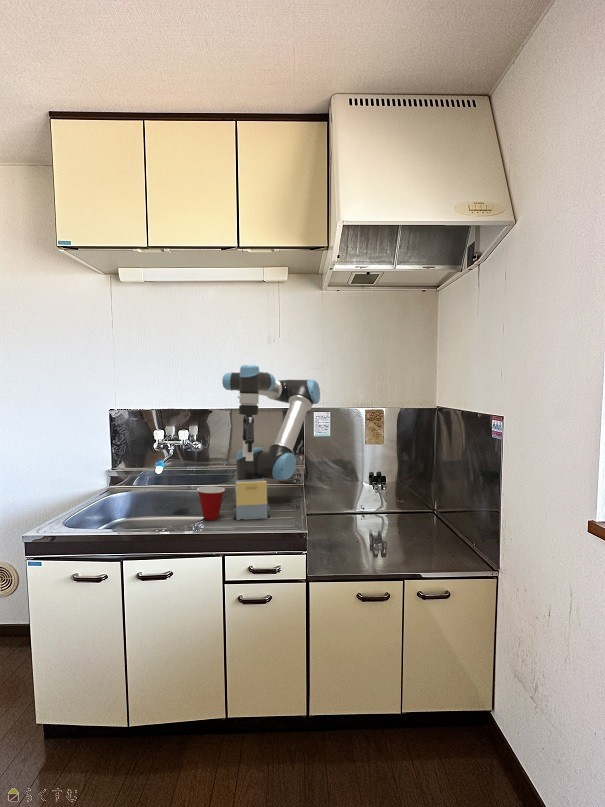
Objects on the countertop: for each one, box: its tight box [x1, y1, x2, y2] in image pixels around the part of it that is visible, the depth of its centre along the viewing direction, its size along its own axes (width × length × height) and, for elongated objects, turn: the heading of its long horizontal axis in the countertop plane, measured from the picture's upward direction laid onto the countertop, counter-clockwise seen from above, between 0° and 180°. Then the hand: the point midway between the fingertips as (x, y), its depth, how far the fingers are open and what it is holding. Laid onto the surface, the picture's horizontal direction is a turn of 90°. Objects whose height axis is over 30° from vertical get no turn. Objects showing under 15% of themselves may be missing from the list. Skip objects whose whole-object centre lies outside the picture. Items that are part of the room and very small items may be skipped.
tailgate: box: [236, 480, 268, 506], centre depth 181 cm, size 2×12×9 cm, turn 99°
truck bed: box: [232, 478, 271, 521], centre depth 190 cm, size 14×14×12 cm
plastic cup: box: [196, 485, 226, 521], centre depth 185 cm, size 11×11×12 cm
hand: (247, 458), depth 185 cm, fingers open, 13 cm apart
